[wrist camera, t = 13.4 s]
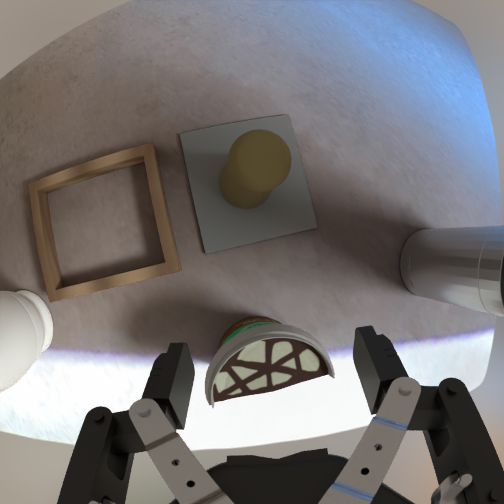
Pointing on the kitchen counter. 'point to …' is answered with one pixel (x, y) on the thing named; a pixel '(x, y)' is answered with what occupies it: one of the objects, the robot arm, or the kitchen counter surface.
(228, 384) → the food container
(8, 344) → the jar
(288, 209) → the mat
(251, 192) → the olive pawn figure
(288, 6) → the kitchen counter surface
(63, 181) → the frame
